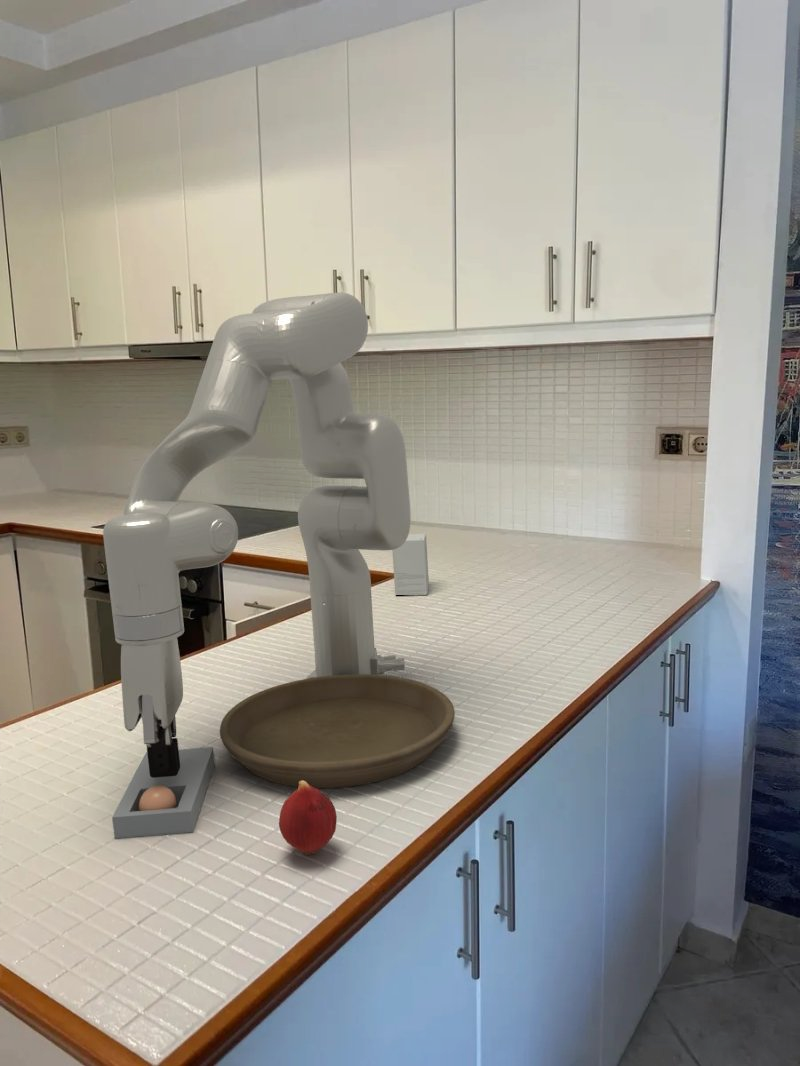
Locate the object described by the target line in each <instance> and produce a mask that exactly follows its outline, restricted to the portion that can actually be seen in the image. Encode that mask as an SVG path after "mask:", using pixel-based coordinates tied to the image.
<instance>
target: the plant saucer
mask: <svg viewBox="0 0 800 1066" xmlns="http://www.w3.org/2000/svg"><path fill="white" fill-rule="evenodd" d="M455 714H456V712H455V707H454V705H453V703H452V701H451V700H450V698H449V697H448V696H447V695H446V694H444V693H443V692H442V691H440V690H439V689H437V688H435V687H433V686H430V685H429V684H426V683H424V682H422V681H421V682H420V681H416V680H413V679H410V678H403V677H399V676H391V675H386V676H384V675H367V674H354V675H333V676H323V677H315V678H308V679H307V678H303V679H299V680H295V681H290V682H285V683H282V684H279V685H276V686H271V687H269V688H266V689H263V690H261V691H258V692H255V693H254V694H252V695H250V696H248V697H246V698H244V699H243V700H241V701H239V702H238V703H237V704H235V705H234V706H233V707H232V708H231V709H229V710H228V711H227V713H226V714H225V715H224V717H223V718H222V720H221V723H220V726H219V727H220V728H219V737H220V739H221V742H222V745H223V746H224V747H225V749H226V750H227V752H228V753H229V754H230V756H232V757H233V758H234V759H235V760H236V761H238V762H239V763H241V764H242V765H243V766H244V767H245V768H246V769H247V770H248V771H250V772H251V773H252V774H254V775H256V776H258V777H260V778H261V779H264V780H268V781H270V782H273V783H276V784H280V785H286V786H292V787H298V788H299V781H306V782H307V784H308V785H310V786H312V787H313V788H316V789H334V788H335V789H336V788H347V787H354V786H361V785H365V784H372V783H377V782H379V781H383V780H384V781H385V780H387V779H390V778H393V777H396V776H398V775H401V774H403V773H405V772H407V771H409V770H411V769H413V768H415V767H416V766H418V765H419V764H421V763H422V762H424V761H425V760H426V759H427V758H428V757H429V756H430V755H431V754H432V753H433V752H434V750H435V749H436V747H438V746H439V745H440V744H441V743H442V742H443V741H444V739H445V738H446V737H447V735H448V733H449V732H450V730H451V728H452V726H453V723H454V720H455Z"/></svg>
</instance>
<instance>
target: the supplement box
mask: <svg viewBox="0 0 800 1066" xmlns="http://www.w3.org/2000/svg"><path fill="white" fill-rule="evenodd" d="M427 542H428V541H427V533H416V534H415V533H413V534H412V533H411V534H410V533H409V534H408V537H407V539H406V541H405V542H404V544H403V545H402V546H400V547H399V548H397V549H394V550H391V551H392V552H391V553H392V565H393V578H394V579H393V581H394V591H395V592H394V593H395V594H394V595H395V596H396V595H414V596H428V594H429V590H430V582H429V581H430V580H429V565H428V563H429V562H428V545H427V544H428V543H427ZM428 589H429V590H428Z"/></svg>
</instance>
